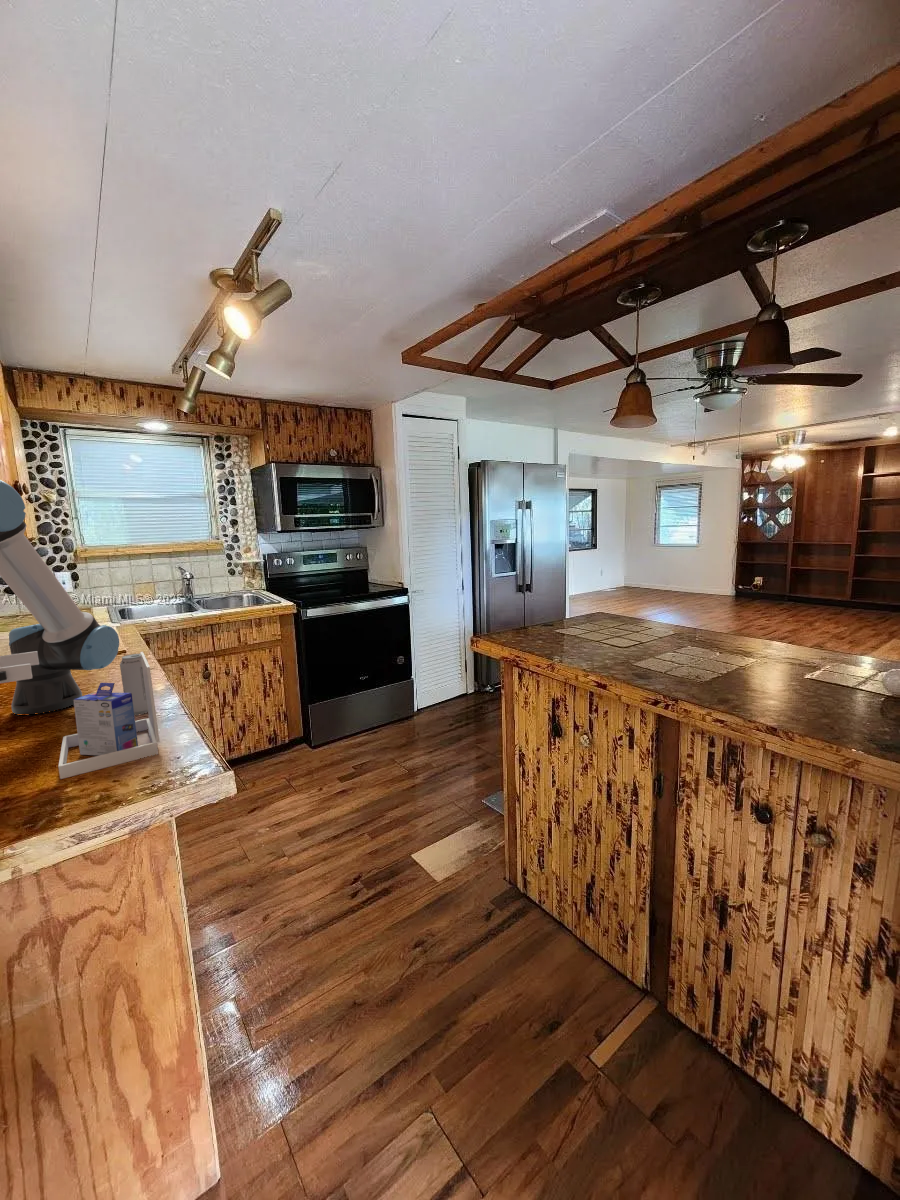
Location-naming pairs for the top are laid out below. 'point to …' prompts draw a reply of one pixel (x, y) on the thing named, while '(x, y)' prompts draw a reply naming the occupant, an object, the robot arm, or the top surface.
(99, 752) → the ink cartridge box
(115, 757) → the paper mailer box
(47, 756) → the top surface
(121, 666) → the energy drink can
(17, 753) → the top surface
